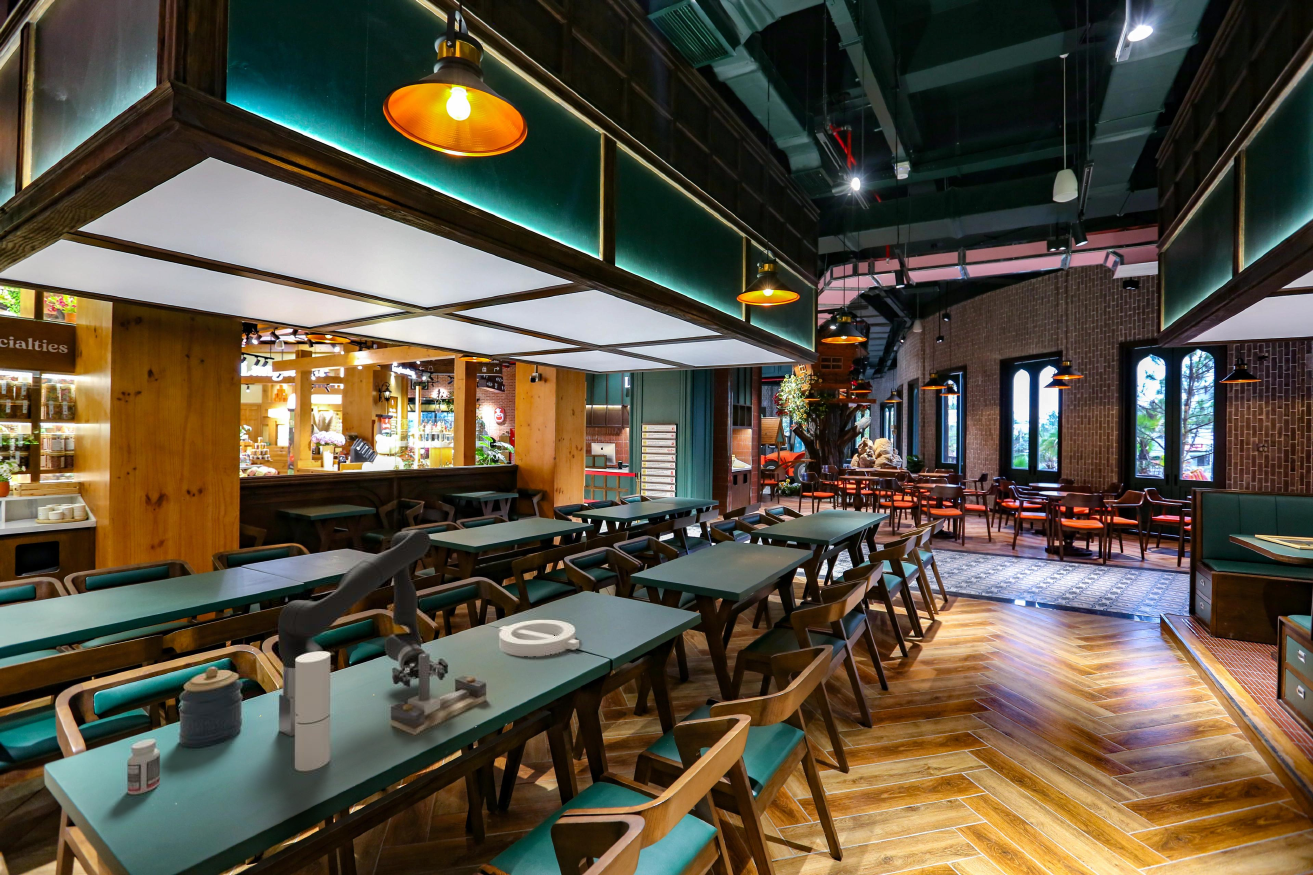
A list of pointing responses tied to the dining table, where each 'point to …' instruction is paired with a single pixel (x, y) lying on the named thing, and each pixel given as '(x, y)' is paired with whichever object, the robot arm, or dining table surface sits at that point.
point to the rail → (442, 713)
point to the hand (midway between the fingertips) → (425, 679)
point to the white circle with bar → (537, 638)
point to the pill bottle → (143, 767)
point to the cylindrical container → (312, 710)
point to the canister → (210, 708)
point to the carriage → (425, 688)
